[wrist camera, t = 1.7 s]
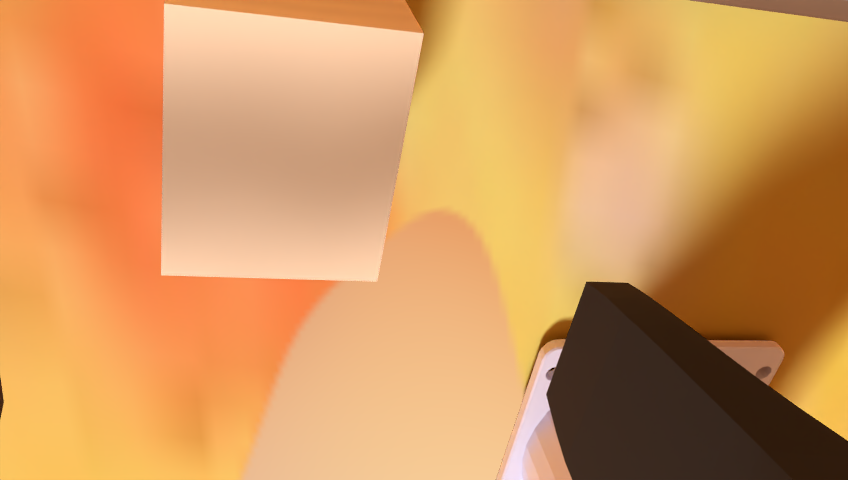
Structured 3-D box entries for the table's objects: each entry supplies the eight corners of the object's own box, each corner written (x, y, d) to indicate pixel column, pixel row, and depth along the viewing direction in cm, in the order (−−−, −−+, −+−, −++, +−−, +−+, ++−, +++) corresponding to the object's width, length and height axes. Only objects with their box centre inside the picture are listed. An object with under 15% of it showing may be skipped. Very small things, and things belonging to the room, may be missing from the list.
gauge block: (351, 179, 19) (376, 281, 16) (173, 168, 18) (161, 275, 15) (384, -36, 16) (424, 33, 13) (177, -65, 15) (164, 3, 12)
